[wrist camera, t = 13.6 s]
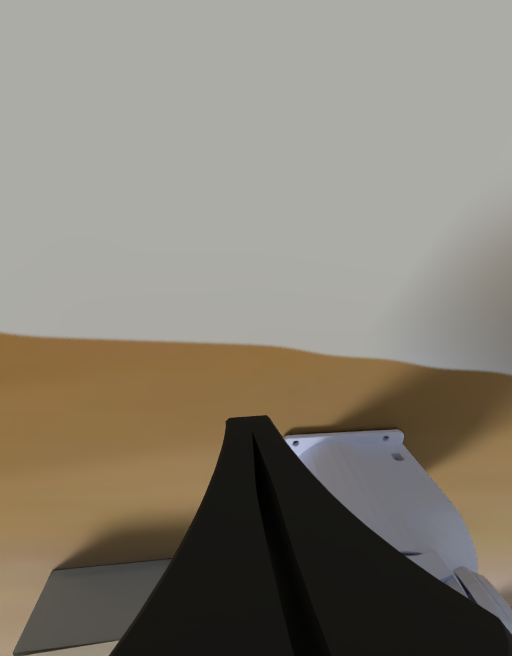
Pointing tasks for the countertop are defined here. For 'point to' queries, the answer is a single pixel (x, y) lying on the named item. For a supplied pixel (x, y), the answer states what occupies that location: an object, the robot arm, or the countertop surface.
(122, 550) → the countertop surface
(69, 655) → the lid
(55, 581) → the box
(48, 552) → the countertop surface
